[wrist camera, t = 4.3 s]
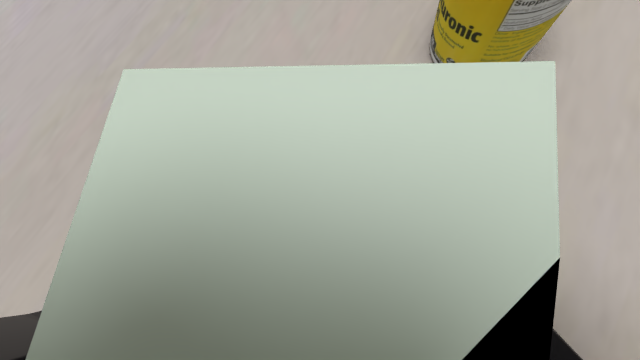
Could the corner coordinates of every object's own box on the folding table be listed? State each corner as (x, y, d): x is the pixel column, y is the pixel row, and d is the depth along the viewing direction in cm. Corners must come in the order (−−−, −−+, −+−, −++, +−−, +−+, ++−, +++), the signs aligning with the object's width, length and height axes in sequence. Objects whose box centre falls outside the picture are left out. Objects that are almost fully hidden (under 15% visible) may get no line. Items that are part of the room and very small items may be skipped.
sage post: (406, 312, 14) (575, 923, 1) (313, 291, 15) (-24, 505, 3) (414, 215, 15) (554, 61, 2) (326, 204, 16) (124, 69, 4)
